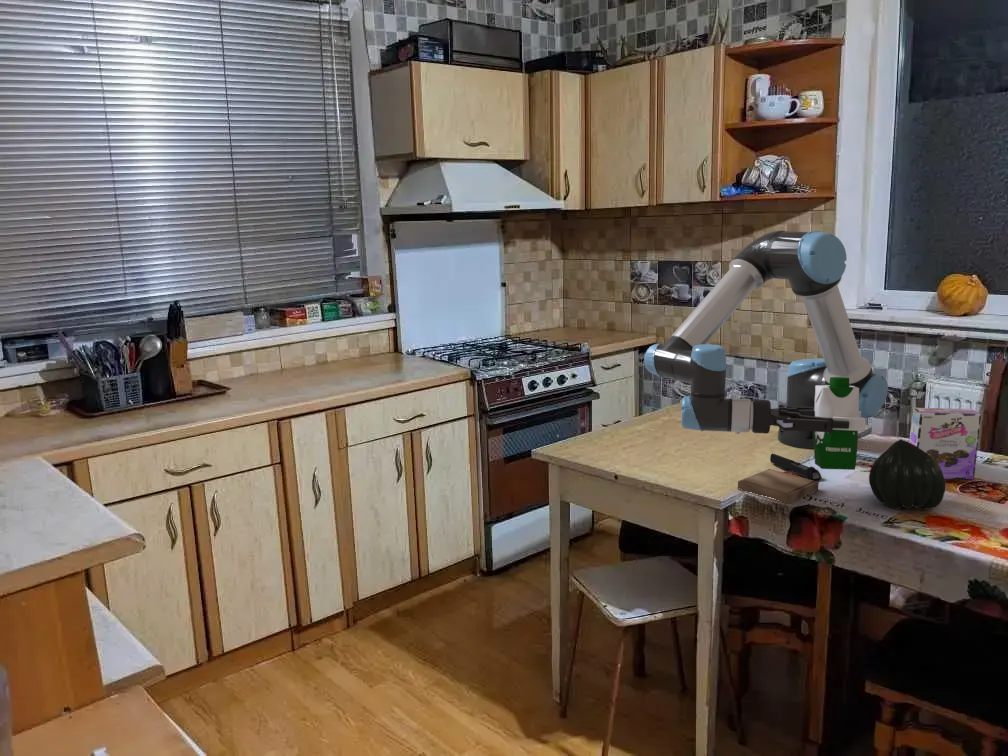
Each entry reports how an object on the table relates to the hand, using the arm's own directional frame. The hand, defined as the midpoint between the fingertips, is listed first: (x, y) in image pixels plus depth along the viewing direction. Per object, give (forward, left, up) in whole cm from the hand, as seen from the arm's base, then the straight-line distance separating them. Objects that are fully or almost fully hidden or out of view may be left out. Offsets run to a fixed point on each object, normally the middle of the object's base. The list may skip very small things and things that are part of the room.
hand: (862, 421), depth 181 cm
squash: (-7, +7, -19) cm, 22 cm away
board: (+5, -17, -19) cm, 26 cm away
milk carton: (+3, -4, -11) cm, 12 cm away
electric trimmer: (-9, -21, -19) cm, 30 cm away
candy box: (-32, +4, -19) cm, 38 cm away
